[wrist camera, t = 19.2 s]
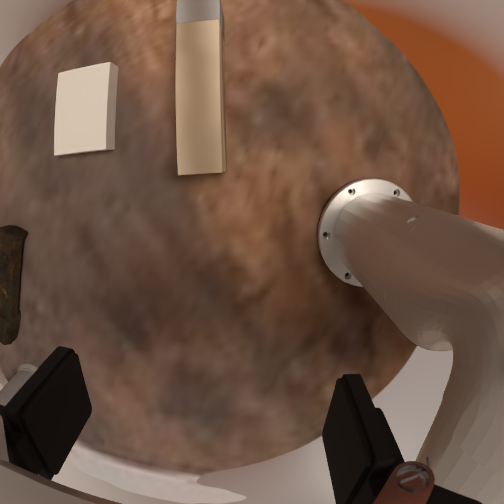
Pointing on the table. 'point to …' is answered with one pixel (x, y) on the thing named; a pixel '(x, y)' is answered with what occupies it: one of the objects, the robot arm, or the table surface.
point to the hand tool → (10, 281)
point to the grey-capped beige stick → (200, 87)
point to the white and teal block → (86, 109)
